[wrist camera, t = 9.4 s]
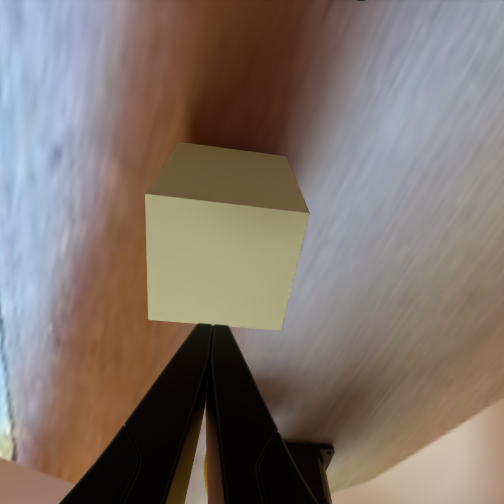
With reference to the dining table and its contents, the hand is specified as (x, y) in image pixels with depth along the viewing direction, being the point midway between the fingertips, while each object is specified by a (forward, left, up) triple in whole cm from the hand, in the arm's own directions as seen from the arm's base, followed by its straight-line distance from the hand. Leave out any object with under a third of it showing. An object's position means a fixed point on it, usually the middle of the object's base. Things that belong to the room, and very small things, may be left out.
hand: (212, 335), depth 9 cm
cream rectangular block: (0, 0, -10) cm, 10 cm away
